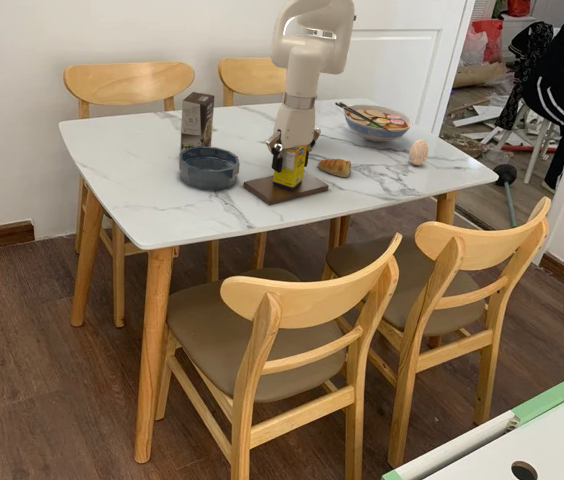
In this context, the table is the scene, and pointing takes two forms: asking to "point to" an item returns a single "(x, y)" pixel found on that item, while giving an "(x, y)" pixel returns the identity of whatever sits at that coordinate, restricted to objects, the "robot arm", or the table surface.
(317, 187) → the walnut board
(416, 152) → the egg
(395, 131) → the ramen bowl
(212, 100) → the coffee box
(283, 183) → the supplement box
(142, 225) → the table surface
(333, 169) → the pastry
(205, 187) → the bowl
